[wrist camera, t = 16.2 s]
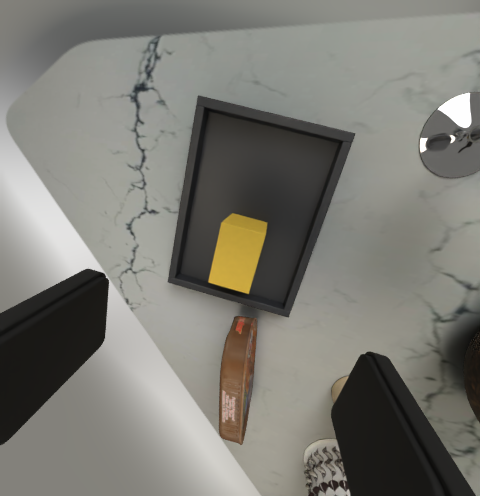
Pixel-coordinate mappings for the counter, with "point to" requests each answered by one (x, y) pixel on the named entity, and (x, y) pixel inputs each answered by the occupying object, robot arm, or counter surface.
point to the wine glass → (453, 137)
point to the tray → (255, 196)
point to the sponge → (237, 252)
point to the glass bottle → (473, 374)
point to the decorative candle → (325, 469)
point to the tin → (237, 378)
